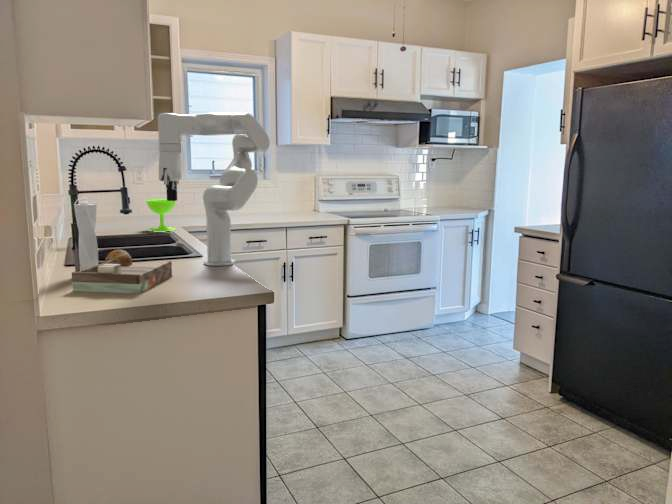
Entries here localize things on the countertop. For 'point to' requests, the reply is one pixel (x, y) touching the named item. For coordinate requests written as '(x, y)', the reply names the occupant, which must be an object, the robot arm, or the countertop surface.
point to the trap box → (120, 278)
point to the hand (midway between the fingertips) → (172, 200)
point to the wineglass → (161, 211)
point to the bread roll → (119, 257)
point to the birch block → (109, 268)
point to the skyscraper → (86, 235)
